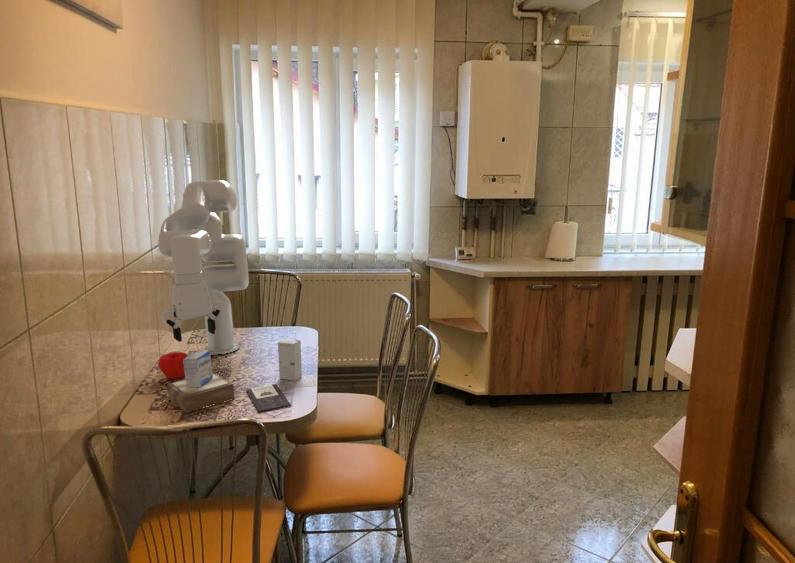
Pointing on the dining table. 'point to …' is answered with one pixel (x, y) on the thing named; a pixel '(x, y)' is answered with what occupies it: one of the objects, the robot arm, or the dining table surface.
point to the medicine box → (198, 369)
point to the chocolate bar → (268, 398)
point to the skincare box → (289, 359)
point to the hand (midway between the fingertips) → (195, 336)
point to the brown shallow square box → (200, 393)
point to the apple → (172, 365)
